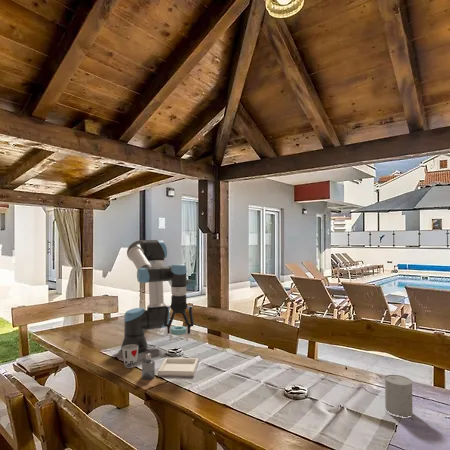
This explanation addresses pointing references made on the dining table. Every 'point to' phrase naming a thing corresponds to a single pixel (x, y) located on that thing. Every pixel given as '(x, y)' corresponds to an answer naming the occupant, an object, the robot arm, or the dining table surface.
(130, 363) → the cup
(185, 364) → the tray
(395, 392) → the grey cylinder
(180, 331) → the ring
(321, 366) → the dining table surface
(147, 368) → the grey bottle
